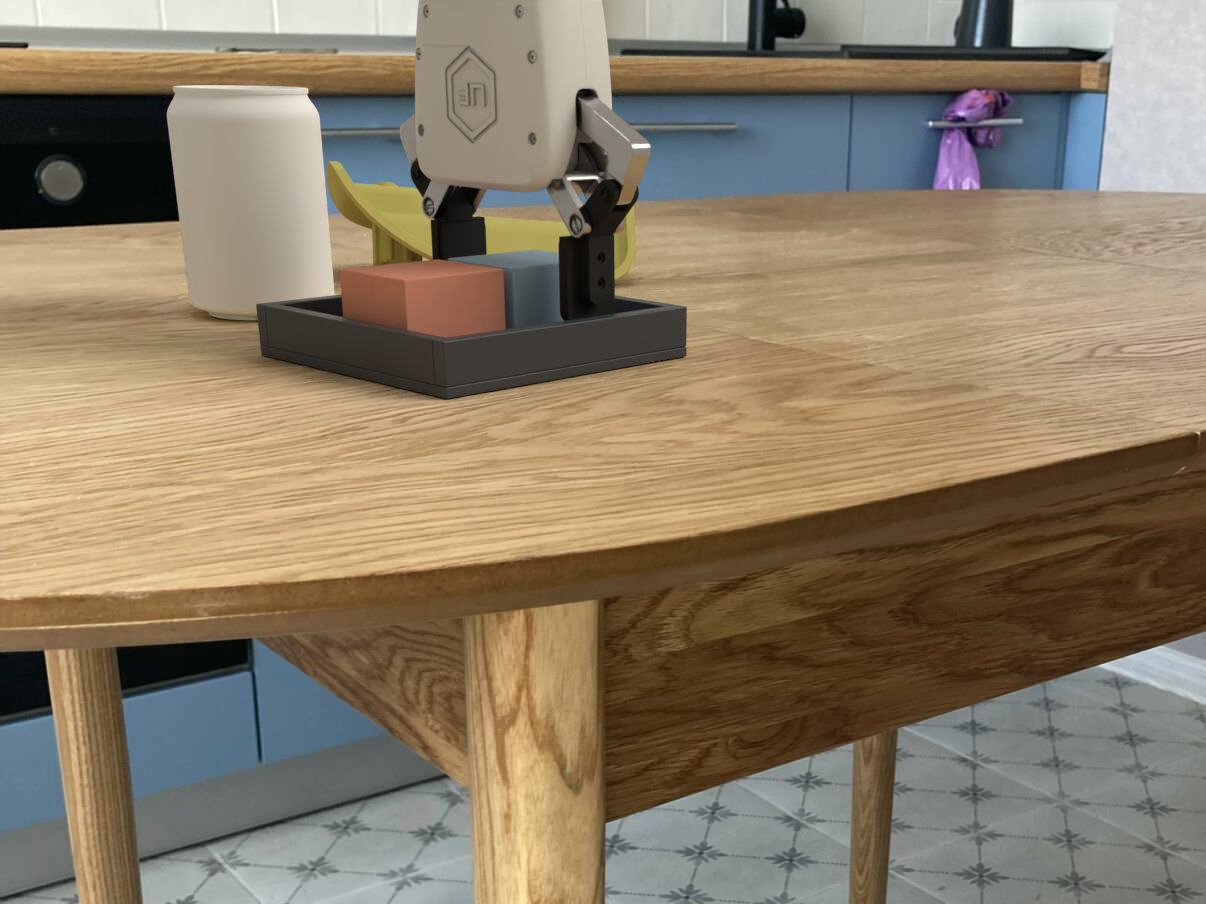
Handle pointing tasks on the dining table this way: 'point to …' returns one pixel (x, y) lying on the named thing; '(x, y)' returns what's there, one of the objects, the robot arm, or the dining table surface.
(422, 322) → the coral box block
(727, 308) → the dining table surface
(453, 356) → the backing tray
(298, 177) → the beverage can
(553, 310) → the slate blue box block
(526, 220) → the plastic component
